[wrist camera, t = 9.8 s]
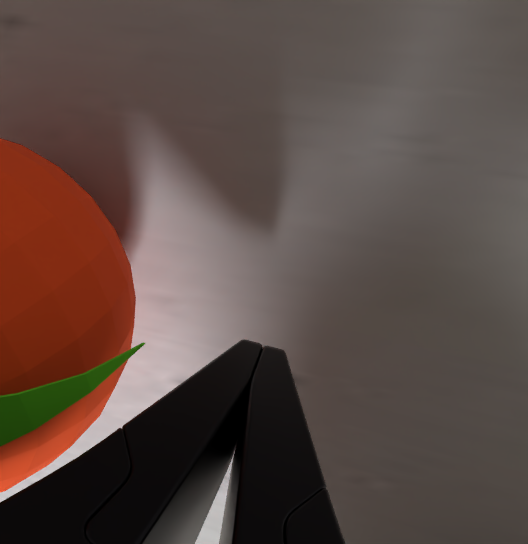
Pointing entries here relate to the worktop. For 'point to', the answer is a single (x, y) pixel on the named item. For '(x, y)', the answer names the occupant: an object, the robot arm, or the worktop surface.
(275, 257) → the worktop surface
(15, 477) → the clementine
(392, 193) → the worktop surface
